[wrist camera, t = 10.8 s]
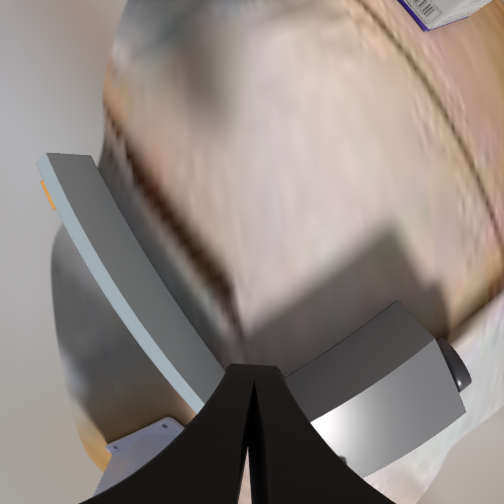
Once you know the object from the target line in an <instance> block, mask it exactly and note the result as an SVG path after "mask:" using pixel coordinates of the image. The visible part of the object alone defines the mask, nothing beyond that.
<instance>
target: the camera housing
mask: <svg viewBox="0 0 504 504" xmlns="http://www.w3.org/2000/svg"><path fill="white" fill-rule="evenodd" d="M284 380H285V382H286V384H287V386H288V388H289V390H290V392H291V393H292V395H293V397H294V398H295V400H296V402H297V403H298V405H299V406H300V408H301V409H302V411H303V412H304V414H305V415H306V417H307V418H308V420H309V421H310V423H311V424H312V425H313V427H314V428H315V429H316V431H317V432H318V433H319V434H320V436H321V437H322V438H323V439H324V440H325V442H326V443H327V444H328V445H329V446H330V447H331V449H332V450H333V451H334V452H335V453H336V454H337V455H338V456H339V457H340V458H341V459H342V460H343V461H344V462H345V463H346V464H347V465H348V466H349V467H350V468H351V469H352V470H353V471H354V472H355V473H357V474H358V475H359V476H360V477H361V478H364V477H366V476H368V475H370V474H372V473H374V472H376V471H378V470H380V469H382V468H383V467H385V466H387V465H389V464H391V463H392V462H394V461H396V460H397V459H399V458H401V457H403V456H404V455H406V454H408V453H409V452H411V451H412V450H414V449H416V448H417V447H419V446H420V445H422V444H423V443H425V442H426V441H428V440H429V439H431V438H432V437H434V436H435V435H436V434H438V433H439V432H441V431H442V430H443V429H445V428H446V427H448V426H449V425H450V424H452V423H453V422H454V421H455V420H457V419H458V418H459V417H461V416H462V415H463V414H464V413H466V410H465V407H464V405H463V402H462V400H461V397H460V394H459V393H460V392H461V391H462V390H464V389H465V388H466V387H467V386H468V385H469V384H471V377H470V374H469V372H468V370H467V368H466V366H465V364H464V363H463V361H462V360H461V358H460V357H459V355H458V354H457V352H456V351H455V350H454V349H453V347H452V346H451V345H450V344H449V343H448V342H447V341H446V340H445V339H443V338H440V339H439V340H437V341H436V340H435V338H434V337H433V336H432V335H431V334H430V333H429V332H428V331H427V330H426V329H425V328H424V327H423V326H422V325H421V324H420V323H419V322H418V321H417V320H416V319H415V318H414V317H413V316H412V315H411V314H410V313H409V312H408V311H407V310H406V309H405V308H404V307H403V306H402V305H401V304H400V303H399V302H398V301H395V302H394V303H393V304H392V305H390V306H389V307H388V308H387V309H385V310H384V311H383V312H381V313H380V314H379V315H377V316H376V317H375V318H373V319H372V320H371V321H369V322H368V323H367V324H365V325H364V326H363V327H361V328H360V329H359V330H357V331H356V332H354V333H353V334H352V335H350V336H349V337H347V338H346V339H344V340H343V341H342V342H340V343H339V344H337V345H336V346H334V347H333V348H331V349H330V350H328V351H327V352H325V353H324V354H322V355H321V356H319V357H318V358H316V359H315V360H313V361H311V362H310V363H308V364H307V365H305V366H304V367H302V368H300V369H299V370H297V371H296V372H294V373H292V374H291V375H289V376H287V377H286V378H284Z"/></svg>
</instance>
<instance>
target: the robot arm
mask: <svg viewBox="0 0 504 504" xmlns="http://www.w3.org/2000/svg"><path fill="white" fill-rule="evenodd" d="M164 424H165V425H164ZM247 449H248V454H249V470H250V485H251V499H252V504H396V503H394V502H393V501H391V500H390V499H389V498H387V497H386V496H384V495H383V494H382V493H380V492H379V491H377V490H376V489H375V488H373V487H372V486H371V485H369V484H368V483H367V482H366V481H364V480H363V479H362V478H361V477H360V476H359V475H358V474H357V473H355V472H354V471H353V470H352V469H351V468H350V467H349V466H348V465H347V464H346V463H345V462H344V461H343V460H342V459H341V458H340V457H339V456H338V455H337V454H336V453H335V452H334V451H333V450H332V449H331V447H330V446H329V445H328V444H327V443H326V442H325V440H324V439H323V438H322V437H321V436H320V434H319V433H318V432H317V431H316V429H315V428H314V427H313V425H312V424H311V423H310V421H309V420H308V418H307V417H306V415H305V414H304V412H303V411H302V409H301V408H300V406H299V405H298V403H297V402H296V400H295V398H294V397H293V395H292V393H291V392H290V390H289V388H288V386H287V384H286V382H285V380H284V378H283V376H282V374H281V372H280V370H279V369H278V367H277V366H260V365H245V364H231V365H229V366H228V367H227V370H226V372H225V374H224V376H223V378H222V380H221V381H220V383H219V385H218V386H217V388H216V389H215V391H214V392H213V394H212V395H211V397H210V398H209V399H208V401H207V402H206V403H205V405H204V406H203V408H202V409H201V410H200V411H199V413H198V414H197V415H196V416H195V417H194V418H193V420H192V421H191V422H190V423H189V424H188V425H187V426H186V427H183V426H182V425H181V424H180V423H178V422H177V421H176V420H175V419H173V418H171V417H165V418H163V419H161V420H159V421H157V422H155V423H153V424H151V425H149V426H147V427H145V428H143V429H140V430H138V431H136V432H134V433H132V434H129V435H127V436H125V437H123V438H120V439H118V440H116V441H114V442H111V443H109V444H107V445H106V450H107V451H109V452H110V453H111V454H112V457H111V459H110V461H109V463H108V465H107V467H106V470H105V472H104V474H103V476H102V478H101V480H100V482H99V484H98V487H97V489H96V491H95V493H94V496H93V497H92V498H90V499H88V500H86V501H84V502H82V503H79V504H238V500H239V495H240V489H241V483H242V478H243V472H244V466H245V461H246V455H247Z"/></svg>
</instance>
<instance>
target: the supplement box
mask: <svg viewBox="0 0 504 504" xmlns="http://www.w3.org/2000/svg"><path fill="white" fill-rule="evenodd" d="M398 1H399V2H400V3H401V4H402V5H403V6H404V8H405V9H406V10H407V11H408V12H409V14H410V15H411V16H412V17H413V18H414V20H415V21H416V22H417V23H418V25H419V26H420V27H421V28H422V30H423V31H424V32H428V31H431V30H433V29H436V28H438V27H441V26H444V25H447V24H450V23H452V22H455V21H458V20H461V19H464V18H467V17H468V16H470V15H471V14H472V13H474V12H475V11H477V10H478V9H480V8H481V7H483V6H484V5H486V4H487V3H489V2H490V1H492V0H398Z"/></svg>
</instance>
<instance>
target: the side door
mask: <svg viewBox="0 0 504 504" xmlns="http://www.w3.org/2000/svg"><path fill="white" fill-rule="evenodd" d="M36 165H37V167H38V170H39V172H40V174H41V177H42V179H43V180H42V181H41V184H42V187H43V189H44V191H45V193H46V195H47V197H48V200H49V202H50V204H51V206H52V208H53V209H57V211H58V213H59V215H60V217H61V219H62V221H63V223H64V225H65V227H66V229H67V231H68V233H69V235H70V236H71V238H72V240H73V242H74V244H75V246H76V247H77V249H78V251H79V253H80V254H81V256H82V258H83V260H84V261H85V263H86V265H87V267H88V268H89V270H90V272H91V273H92V275H93V276H94V278H95V280H96V281H97V283H98V285H99V286H100V288H101V289H102V291H103V292H104V294H105V296H106V297H107V299H108V300H109V302H110V303H111V305H112V306H113V308H114V309H115V311H116V312H117V314H118V315H119V317H120V318H121V320H122V321H123V322H124V324H125V325H126V327H127V328H128V329H129V331H130V332H131V334H132V335H133V336H134V338H135V339H136V341H137V342H138V343H139V345H140V346H141V347H142V349H143V350H144V351H145V353H146V354H147V355H148V356H149V358H150V359H151V360H152V362H153V363H154V364H155V365H156V367H157V368H158V369H159V370H160V372H161V373H162V374H163V375H164V377H165V378H166V379H167V380H168V381H169V383H170V384H171V385H172V386H173V387H174V389H175V390H176V391H177V392H178V393H179V394H180V396H181V397H182V398H183V399H184V400H185V401H186V402H187V404H188V405H189V406H190V407H191V408H192V409H193V410H194V411H195V412H196V414H198V413H199V411H200V410H201V409H202V408H203V406H204V405H205V403H206V402H207V401H208V399H209V398H210V397H211V395H212V394H213V392H214V391H215V389H216V388H217V386H218V385H219V383H220V381H221V380H222V378H223V376H224V374H225V370H224V369H223V368H222V366H221V365H220V364H219V362H218V361H217V360H216V358H215V357H214V356H213V354H212V353H211V351H210V350H209V349H208V347H207V346H206V345H205V343H204V342H203V340H202V339H201V338H200V336H199V335H198V333H197V332H196V331H195V329H194V328H193V326H192V325H191V323H190V322H189V320H188V319H187V318H186V316H185V315H184V313H183V312H182V310H181V309H180V307H179V306H178V304H177V303H176V301H175V300H174V298H173V297H172V295H171V294H170V292H169V291H168V289H167V288H166V286H165V285H164V283H163V281H162V280H161V278H160V277H159V275H158V274H157V272H156V270H155V269H154V267H153V266H152V264H151V262H150V261H149V259H148V258H147V256H146V254H145V253H144V251H143V249H142V248H141V246H140V244H139V243H138V241H137V239H136V238H135V236H134V234H133V233H132V231H131V229H130V227H129V226H128V224H127V222H126V220H125V219H124V217H123V215H122V213H121V212H120V210H119V208H118V206H117V204H116V203H115V201H114V199H113V197H112V195H111V193H110V191H109V190H108V188H107V186H106V184H105V182H104V180H103V178H102V176H101V174H100V172H99V171H98V169H97V167H96V165H95V163H94V161H93V159H92V157H91V156H89V155H74V154H60V153H45V154H44V155H43V156H42V157H41V158H40V159H39V161H38V162H37V163H36Z"/></svg>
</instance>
